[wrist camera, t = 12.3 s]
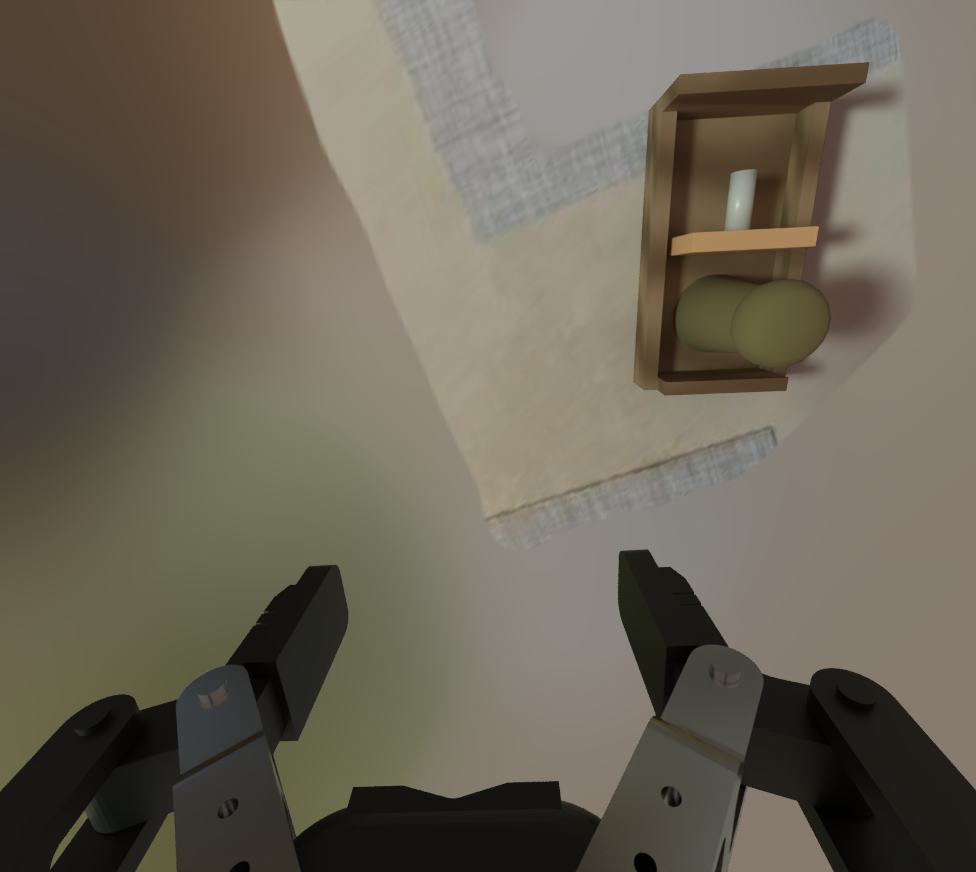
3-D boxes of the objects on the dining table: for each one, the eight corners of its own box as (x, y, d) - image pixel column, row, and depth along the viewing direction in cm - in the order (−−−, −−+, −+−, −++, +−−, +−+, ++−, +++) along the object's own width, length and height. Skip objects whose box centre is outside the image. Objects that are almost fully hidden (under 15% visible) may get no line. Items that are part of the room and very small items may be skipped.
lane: (649, 110, 33) (680, 74, 27) (804, 100, 32) (869, 62, 27) (633, 382, 39) (656, 399, 34) (763, 376, 39) (808, 393, 33)
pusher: (670, 183, 33) (699, 166, 28) (782, 176, 33) (830, 159, 28) (665, 256, 35) (691, 252, 30) (771, 251, 34) (815, 246, 30)
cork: (748, 266, 35) (853, 259, 25) (751, 343, 37) (850, 367, 27) (669, 283, 36) (739, 284, 25) (676, 359, 38) (744, 388, 27)
